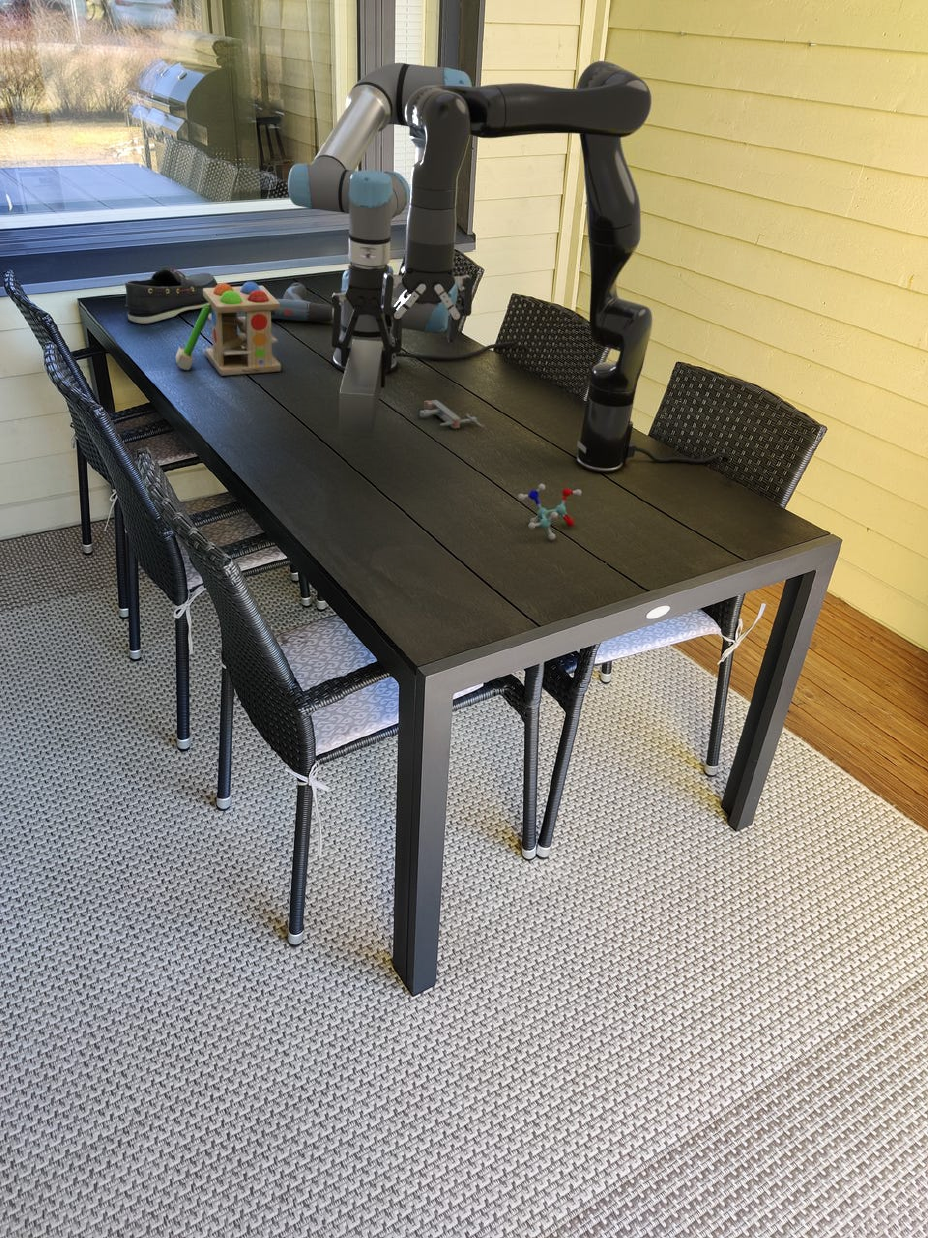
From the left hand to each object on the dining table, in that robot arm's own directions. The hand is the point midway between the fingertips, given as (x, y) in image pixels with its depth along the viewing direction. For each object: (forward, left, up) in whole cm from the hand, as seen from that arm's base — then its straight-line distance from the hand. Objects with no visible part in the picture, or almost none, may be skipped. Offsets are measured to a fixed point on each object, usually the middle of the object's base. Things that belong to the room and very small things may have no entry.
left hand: (365, 383), depth 193 cm
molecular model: (-5, +46, -13) cm, 48 cm away
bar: (+7, +8, -1) cm, 10 cm away
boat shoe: (-10, -95, -13) cm, 97 cm away
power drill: (-39, -75, -13) cm, 86 cm away
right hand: (+12, +29, +19) cm, 37 cm away
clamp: (-22, +1, -13) cm, 26 cm away
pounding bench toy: (0, -52, -13) cm, 54 cm away
